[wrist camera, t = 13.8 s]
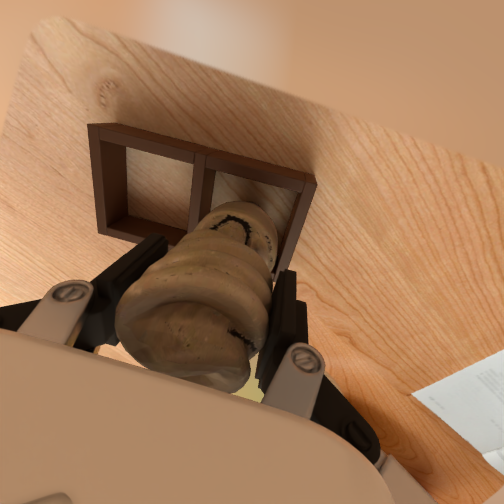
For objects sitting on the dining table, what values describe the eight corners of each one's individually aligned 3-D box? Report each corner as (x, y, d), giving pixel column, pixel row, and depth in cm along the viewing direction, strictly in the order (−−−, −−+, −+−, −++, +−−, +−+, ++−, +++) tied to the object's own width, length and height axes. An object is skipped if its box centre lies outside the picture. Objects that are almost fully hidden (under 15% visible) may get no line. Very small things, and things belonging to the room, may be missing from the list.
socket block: (314, 174, 19) (317, 184, 16) (283, 265, 23) (282, 284, 20) (115, 122, 19) (86, 123, 16) (120, 220, 23) (97, 233, 20)
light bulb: (212, 181, 20) (55, 303, 7) (280, 172, 19) (244, 296, 6) (226, 244, 23) (130, 420, 10) (287, 239, 21) (273, 431, 8)
